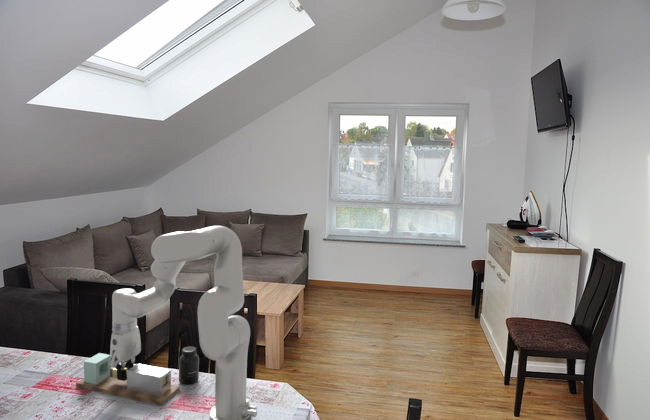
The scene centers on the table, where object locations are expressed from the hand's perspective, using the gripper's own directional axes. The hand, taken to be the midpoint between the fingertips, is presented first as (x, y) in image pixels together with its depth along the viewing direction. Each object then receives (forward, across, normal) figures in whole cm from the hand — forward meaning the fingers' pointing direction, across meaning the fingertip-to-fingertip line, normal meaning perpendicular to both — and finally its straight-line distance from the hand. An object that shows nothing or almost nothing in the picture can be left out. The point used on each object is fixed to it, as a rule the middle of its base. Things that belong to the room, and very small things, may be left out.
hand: (125, 376), depth 153 cm
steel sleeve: (+3, 0, -9) cm, 10 cm away
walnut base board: (+4, 0, -1) cm, 4 cm away
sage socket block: (+3, 0, +11) cm, 12 cm away
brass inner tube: (0, 0, -5) cm, 5 cm away
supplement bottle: (+4, +12, -17) cm, 21 cm away
